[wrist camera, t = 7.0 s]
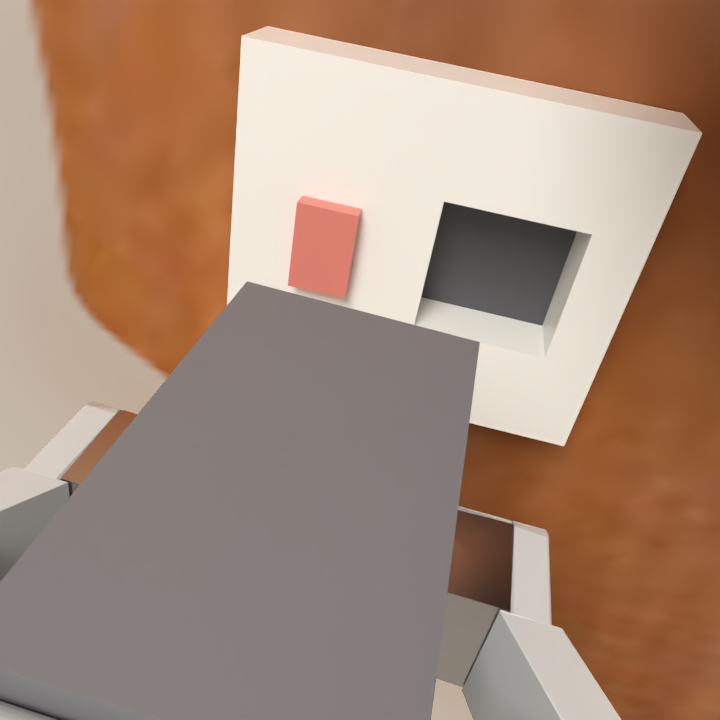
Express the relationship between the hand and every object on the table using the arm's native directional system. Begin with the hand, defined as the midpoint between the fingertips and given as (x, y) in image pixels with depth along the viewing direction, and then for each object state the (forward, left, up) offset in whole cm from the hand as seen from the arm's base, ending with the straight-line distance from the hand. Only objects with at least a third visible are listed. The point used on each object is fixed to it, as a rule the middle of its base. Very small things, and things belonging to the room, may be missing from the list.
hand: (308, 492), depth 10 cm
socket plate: (-1, +4, -20) cm, 21 cm away
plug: (0, 0, -2) cm, 2 cm away
